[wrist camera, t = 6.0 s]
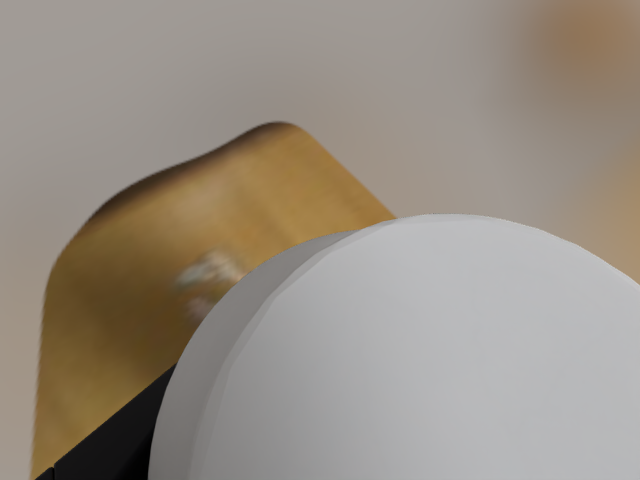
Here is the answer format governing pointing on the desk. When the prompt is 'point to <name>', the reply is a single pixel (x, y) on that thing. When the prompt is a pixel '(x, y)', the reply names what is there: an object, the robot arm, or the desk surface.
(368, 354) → the pill bottle
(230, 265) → the desk surface
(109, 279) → the desk surface
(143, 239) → the desk surface
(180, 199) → the desk surface
